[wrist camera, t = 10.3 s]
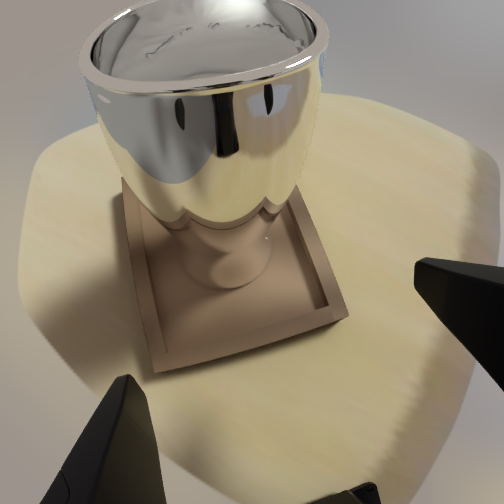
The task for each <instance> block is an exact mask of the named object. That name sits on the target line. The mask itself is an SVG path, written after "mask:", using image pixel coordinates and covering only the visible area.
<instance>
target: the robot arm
mask: <svg viewBox="0 0 504 504" xmlns="http://www.w3.org/2000/svg"><path fill="white" fill-rule="evenodd" d="M414 287H415V289H416V291H417V292H418V293H419V295H420V296H421V297H422V298H423V299H424V301H425V302H426V303H427V304H428V306H429V307H430V308H431V309H432V311H433V312H434V313H435V314H436V316H437V317H438V318H439V319H440V321H441V322H442V323H443V324H444V325H445V326H446V327H447V328H448V329H449V330H450V331H451V333H452V334H453V335H454V336H455V337H456V338H457V339H458V340H459V341H460V342H461V343H462V344H463V345H464V347H465V348H466V349H467V350H468V351H469V352H470V353H471V354H472V355H473V356H474V358H475V359H476V360H477V361H478V362H479V363H480V364H481V365H482V367H483V368H484V369H485V370H486V371H487V372H488V373H489V375H490V376H491V377H492V378H493V379H494V381H495V382H496V383H497V384H498V385H499V387H500V388H501V389H502V390H503V391H504V267H497V266H490V265H483V264H475V263H467V262H460V261H452V260H444V259H436V258H428V257H425V258H422V259H420V260H419V261H417V262H416V263H415V267H414ZM368 487H371V489H370V490H368V491H367V488H368ZM40 504H167V503H166V498H165V493H164V487H163V481H162V475H161V469H160V461H159V454H158V448H157V442H156V438H155V434H154V430H153V425H152V421H151V417H150V412H149V407H148V403H147V398H146V396H145V394H144V392H143V391H142V389H141V388H140V386H139V385H138V384H137V382H136V381H135V379H134V378H133V377H132V376H131V375H130V374H126V375H123V376H119V377H117V378H116V379H115V380H114V382H113V383H112V385H111V387H110V388H109V390H108V391H107V393H106V394H105V396H104V398H103V399H102V401H101V402H100V404H99V406H98V407H97V409H96V410H95V412H94V414H93V415H92V417H91V419H90V420H89V422H88V424H87V425H86V427H85V428H84V430H83V432H82V433H81V435H80V437H79V438H78V440H77V442H76V443H75V445H74V447H73V448H72V450H71V452H70V453H69V455H68V457H67V459H66V460H65V462H64V464H63V466H62V467H61V470H60V471H59V472H58V474H57V476H56V478H55V479H54V481H53V483H52V484H51V486H50V488H49V490H48V491H47V493H46V494H45V496H44V498H43V499H42V501H41V502H40ZM312 504H381V501H380V497H379V494H378V490H377V486H376V485H375V484H374V483H373V482H367V483H364V484H362V485H360V486H358V487H356V488H353V489H351V490H349V491H348V490H345V491H343V492H340V493H338V494H335V495H333V496H330V497H328V498H325V499H323V500H320V501H317V502H314V503H312Z"/></svg>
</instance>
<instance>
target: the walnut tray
mask: <svg viewBox="0 0 504 504" xmlns="http://www.w3.org/2000/svg"><path fill="white" fill-rule="evenodd" d="M121 179H122V191H123V202H124V211H125V220H126V229H127V236H128V244H129V251H130V258H131V264H132V270H133V276H134V282H135V288H136V293H137V298H138V303H139V308H140V313H141V318H142V323H143V327H144V332H145V336H146V341H147V345H148V349H149V353H150V357H151V361H152V365H153V369H154V372H155V373H163V372H168V371H172V370H176V369H181V368H185V367H189V366H193V365H197V364H201V363H205V362H209V361H213V360H216V359H220V358H224V357H228V356H231V355H235V354H238V353H242V352H245V351H249V350H252V349H255V348H259V347H262V346H265V345H269V344H272V343H275V342H278V341H281V340H284V339H287V338H290V337H294V336H297V335H300V334H302V333H305V332H308V331H311V330H314V329H317V328H320V327H323V326H325V325H328V324H331V323H334V322H337V321H339V320H342V319H344V318H346V317H347V316H349V313H348V311H347V308H346V305H345V302H344V300H343V297H342V294H341V292H340V289H339V286H338V284H337V281H336V278H335V276H334V273H333V271H332V268H331V266H330V263H329V260H328V258H327V255H326V253H325V250H324V248H323V245H322V243H321V241H320V238H319V236H318V233H317V231H316V228H315V226H314V224H313V221H312V219H311V217H310V214H309V212H308V210H307V207H306V205H305V203H304V200H303V198H302V196H301V194H300V191H299V189H298V187H297V185H295V187H294V189H293V191H292V193H291V195H290V197H289V199H288V200H287V202H286V204H285V205H284V207H283V208H282V210H281V212H280V213H279V215H278V216H277V218H276V219H275V221H274V222H273V224H272V225H271V227H270V233H271V239H272V249H271V255H270V258H269V261H268V263H267V265H266V267H265V268H264V270H263V271H262V272H261V273H260V274H259V275H258V276H257V277H256V278H255V279H254V280H252V281H251V282H249V283H247V284H245V285H243V286H241V287H237V288H233V289H215V288H211V287H207V286H205V285H203V284H201V283H199V282H197V281H196V280H194V279H193V278H192V277H191V276H190V275H189V274H188V273H187V272H186V270H185V269H184V267H183V265H182V263H181V261H180V258H179V254H178V241H177V240H176V239H175V238H174V237H173V236H172V235H171V234H170V233H169V232H167V231H166V230H165V229H164V228H163V227H162V226H161V225H160V224H159V223H158V222H157V221H156V220H155V219H154V218H153V217H152V216H151V215H150V214H149V212H148V211H147V210H146V209H145V208H144V207H143V205H142V204H141V203H140V202H139V201H138V199H137V198H136V197H135V195H134V194H133V192H132V191H131V189H130V187H129V186H128V184H127V182H126V181H125V179H124V177H121Z"/></svg>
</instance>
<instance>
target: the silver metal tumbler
mask: <svg viewBox="0 0 504 504" xmlns="http://www.w3.org/2000/svg"><path fill="white" fill-rule="evenodd" d="M328 42H329V29H328V27H327V24H326V23H325V21H324V20H323V18H322V17H321V16H320V15H319V14H318V13H317V12H316V11H314V10H313V9H312V8H310V7H309V6H307V5H305V4H304V3H302V2H300V1H298V0H143V1H141V2H139V3H136V4H134V5H132V6H130V7H128V8H126V9H124V10H122V11H120V12H119V13H117V14H115V15H114V16H112V17H111V18H109V19H108V20H107V21H105V22H104V23H103V24H101V25H100V26H99V27H98V28H97V29H96V30H95V31H94V32H93V33H92V34H91V35H90V36H89V38H88V39H87V40H86V42H85V43H84V45H83V47H82V49H81V52H80V55H79V67H80V70H81V72H82V74H83V75H84V78H85V80H86V83H87V87H88V90H89V93H90V96H91V100H92V103H93V106H94V109H95V112H96V115H97V118H98V121H99V124H100V127H101V129H102V132H103V135H104V137H105V140H106V143H107V145H108V147H109V149H110V152H111V154H112V156H113V158H114V160H115V162H116V164H117V167H118V169H119V171H120V172H121V174H122V176H123V177H124V179H125V181H126V182H127V184H128V186H129V187H130V189H131V191H132V192H133V194H134V195H135V197H136V198H137V199H138V201H139V202H140V203H141V204H142V205H143V207H144V208H145V209H146V210H147V211H148V212H149V214H150V215H151V216H152V217H153V218H154V219H155V220H156V221H157V222H158V223H159V224H160V225H161V226H162V227H163V228H164V229H165V230H166V231H167V232H169V233H170V234H171V235H172V236H173V237H174V238H175V239H176V240H177V241H178V254H179V258H180V261H181V263H182V265H183V267H184V269H185V270H186V272H187V273H188V274H189V275H190V276H191V277H192V278H193V279H194V280H196V281H197V282H199V283H201V284H203V285H205V286H207V287H211V288H215V289H233V288H237V287H241V286H243V285H245V284H247V283H249V282H251V281H252V280H254V279H255V278H256V277H257V276H258V275H259V274H260V273H261V272H262V271H263V270H264V268H265V267H266V265H267V263H268V261H269V258H270V255H271V249H272V239H271V233H270V227H271V225H272V224H273V222H274V221H275V219H276V218H277V216H278V215H279V213H280V212H281V210H282V208H283V207H284V205H285V204H286V202H287V200H288V199H289V197H290V195H291V193H292V191H293V189H294V187H295V185H296V183H297V181H298V179H299V177H300V174H301V172H302V169H303V166H304V163H305V160H306V157H307V154H308V151H309V148H310V144H311V140H312V135H313V131H314V127H315V122H316V118H317V112H318V105H319V99H320V93H321V85H322V77H323V69H324V61H325V54H326V48H327V45H328Z"/></svg>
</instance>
